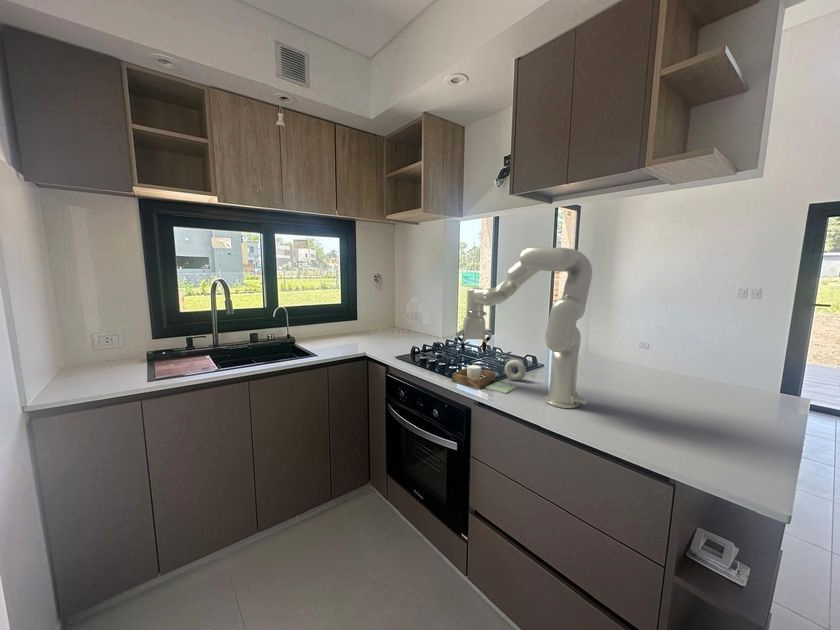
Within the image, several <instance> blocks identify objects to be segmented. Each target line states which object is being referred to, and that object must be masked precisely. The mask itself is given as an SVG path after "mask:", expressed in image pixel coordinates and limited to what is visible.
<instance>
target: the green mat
mask: <svg viewBox="0 0 840 630" xmlns="http://www.w3.org/2000/svg"><path fill="white" fill-rule="evenodd" d="M484 388H485V389H486V390H490V391H493V392H498V393H501V394H505V395H506V394H509V393H511V391H513V390H515V389H516V388H517V385H513V384H509V383H505V382H500V381H494V382H492V383H490V384H488V385H486V386H484Z"/></svg>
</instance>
